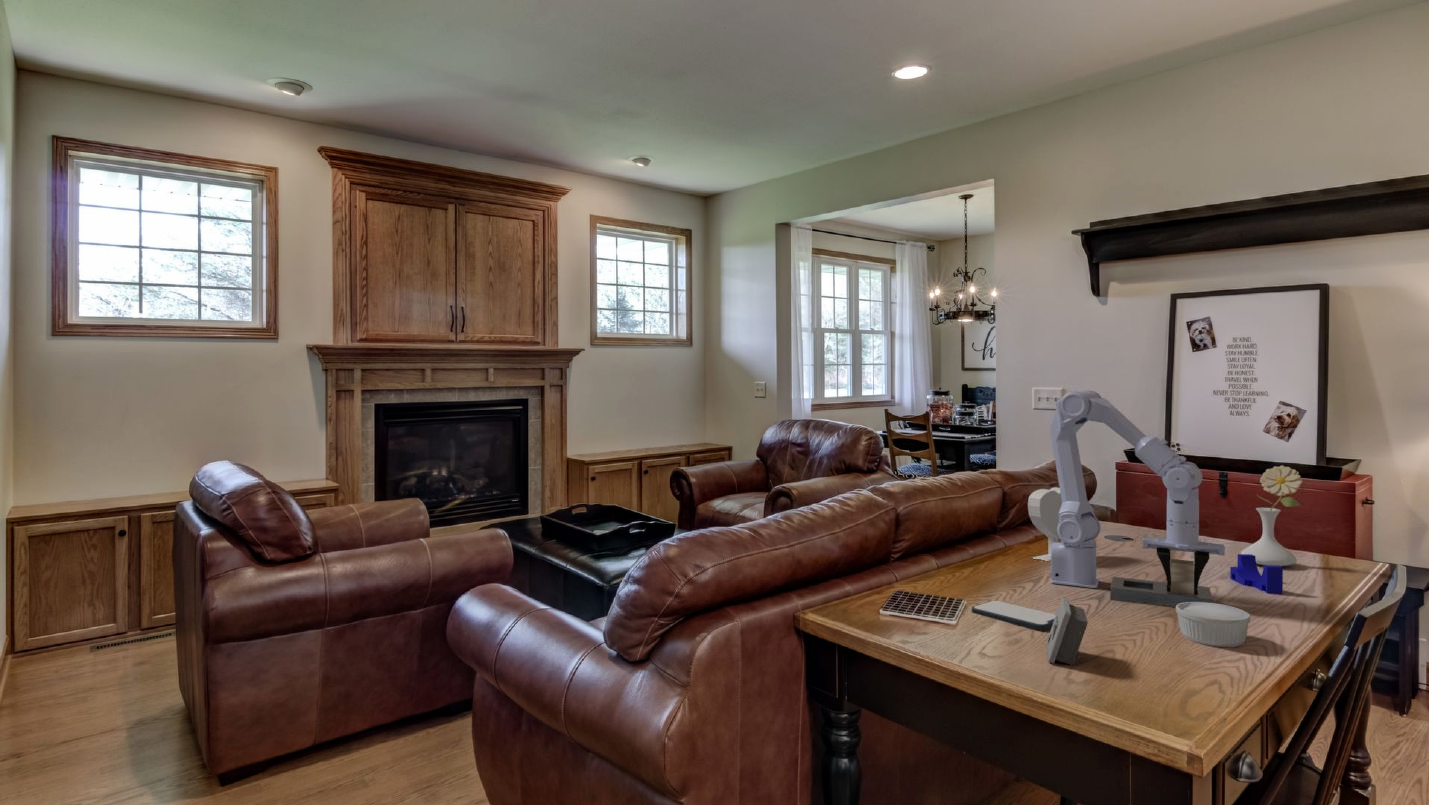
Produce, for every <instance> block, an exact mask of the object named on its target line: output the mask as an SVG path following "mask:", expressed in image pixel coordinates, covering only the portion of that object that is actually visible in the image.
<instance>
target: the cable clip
mask: <svg viewBox="0 0 1429 805" xmlns="http://www.w3.org/2000/svg"><path fill="white" fill-rule="evenodd" d="M1236 565H1237V566H1230V567H1229V568H1230V569H1229V573H1230V574H1229V575H1230V576H1229V578H1230V580H1232V581H1234V582H1236V583H1238V584H1240V585H1242V586H1244V585H1245V586H1244V587H1252V588H1254V589H1257V588H1258V589H1257V590H1259V591H1261V592H1263V591H1265V592H1266V593H1265V592H1264V593H1265V594H1266V595H1267V594H1269V595H1283V591H1284V590H1283V588H1284V587H1283V584H1284V583H1283V582H1284V580H1283V579H1284V576H1283V575H1284V571H1283V570H1284V568H1283V567H1284V566H1274V565H1262V566H1263V567H1262V568H1263V569H1262V573H1260V571H1259V569H1258V564H1256V558H1255V556H1254V555H1252V554H1241V553H1238V554H1237V564H1236ZM1246 585H1248V586H1246Z"/></svg>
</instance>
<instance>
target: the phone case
mask: <svg viewBox="0 0 1429 805" xmlns="http://www.w3.org/2000/svg"><path fill="white" fill-rule="evenodd" d="M971 613H973V614H976V615H979V616H982V617H983V616H984V617H986V618H989V619H994V620H997V621H1001V622H1005V623H1009V624H1012V625H1015V626H1017V627H1023V628H1024V629H1025V628H1026V629H1029V630H1034V631H1036V632H1042V633H1043V632H1050V631H1051V628H1052V625H1053V622H1054V619H1055V616H1056V614H1055V613H1051V612H1045V611H1042V610H1038V609H1033V608H1029V607H1025V606H1021V605H1016V604H1012V603H1008V602H1004V601H999V600H990V601H987V602H983V603H979V604H977V605H974V606H972V607H971Z"/></svg>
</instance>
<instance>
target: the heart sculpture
mask: <svg viewBox="0 0 1429 805" xmlns="http://www.w3.org/2000/svg"><path fill="white" fill-rule="evenodd" d="M1061 506H1062V499H1061V493H1060V487H1057V486H1056V487H1055V486H1054V487H1051V488H1050V489H1048V488H1047V489H1046V488H1039V489H1037V490H1034V491H1033V492H1032V493H1031V494H1030V495H1029V497H1028V501H1027V510H1028V511H1027V512H1028V516H1029V519H1030V521H1031V522H1032V524H1033V526H1035V528H1036V529H1037V530H1038V531H1040V532H1041V533H1042V534H1043V535H1045V536H1046V537H1047V539H1048V540H1047V544H1048V549H1047V550H1048V551H1047V552H1048V553H1047V554H1042V555H1038V556H1033V557H1032V558H1033V559H1041V560H1045V561H1049V560H1051V549H1052V543H1053V542H1058V543H1059V540H1061V539H1060V538H1059V536H1058V533H1057V526H1058V523H1059V510H1060V508H1061ZM1033 559H1032V560H1033Z"/></svg>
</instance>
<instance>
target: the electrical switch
mask: <svg viewBox="0 0 1429 805" xmlns="http://www.w3.org/2000/svg"><path fill="white" fill-rule="evenodd" d="M1057 608H1058V609H1057V610H1056V614H1055V615H1056V616H1055V619H1054V622H1053V625H1052V628H1051V630H1049V635H1048V637H1047V641H1046V651H1047V661H1048V662H1049V663H1050V664H1053V665H1055V661H1058V662H1060V663H1065V664H1067V665H1070V666H1074V664H1075V661H1076V658H1077V656H1078V653H1079V649H1080V647H1081V644H1082V640H1083V638H1084V635H1085V632H1086V629H1087V627H1088V623H1089V622H1088V619H1087V615H1086V611H1085V609H1084V608H1082V607H1081V608H1080V607H1078V606H1075V605H1074V604H1070V602H1069V598H1066V597H1061V599H1060V603H1059V605H1058V607H1057Z"/></svg>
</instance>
